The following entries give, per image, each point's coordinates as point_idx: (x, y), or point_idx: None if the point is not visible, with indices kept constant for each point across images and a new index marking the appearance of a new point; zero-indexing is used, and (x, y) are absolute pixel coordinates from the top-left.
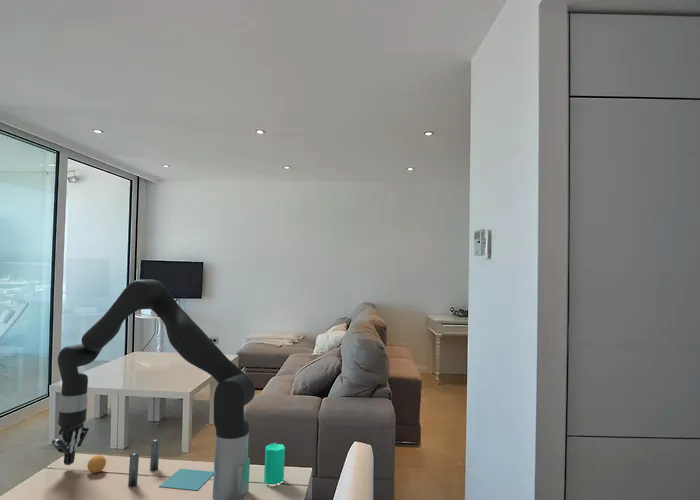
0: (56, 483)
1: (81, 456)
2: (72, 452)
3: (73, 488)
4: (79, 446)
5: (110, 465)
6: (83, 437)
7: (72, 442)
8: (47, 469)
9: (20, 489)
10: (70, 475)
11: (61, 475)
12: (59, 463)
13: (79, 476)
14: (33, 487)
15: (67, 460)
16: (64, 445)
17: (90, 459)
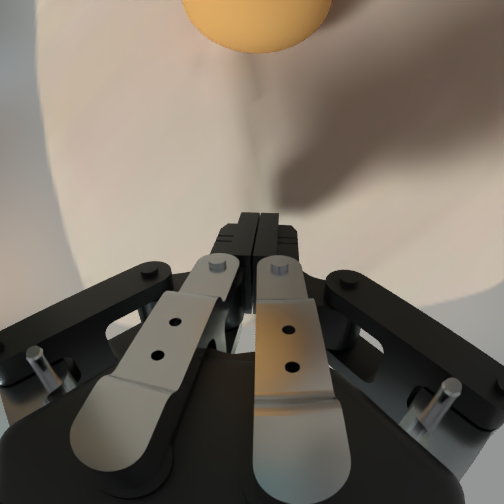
0: (447, 159)
1: (98, 268)
2: (260, 254)
3: (482, 30)
4: (159, 263)
5: (142, 2)
6: (77, 307)
7: (299, 323)
8: None
9: (485, 283)
10: (342, 144)
11: (348, 201)
12: None
13: (346, 74)
14: (478, 245)
15: (297, 241)
16: (421, 340)
17: (292, 13)
